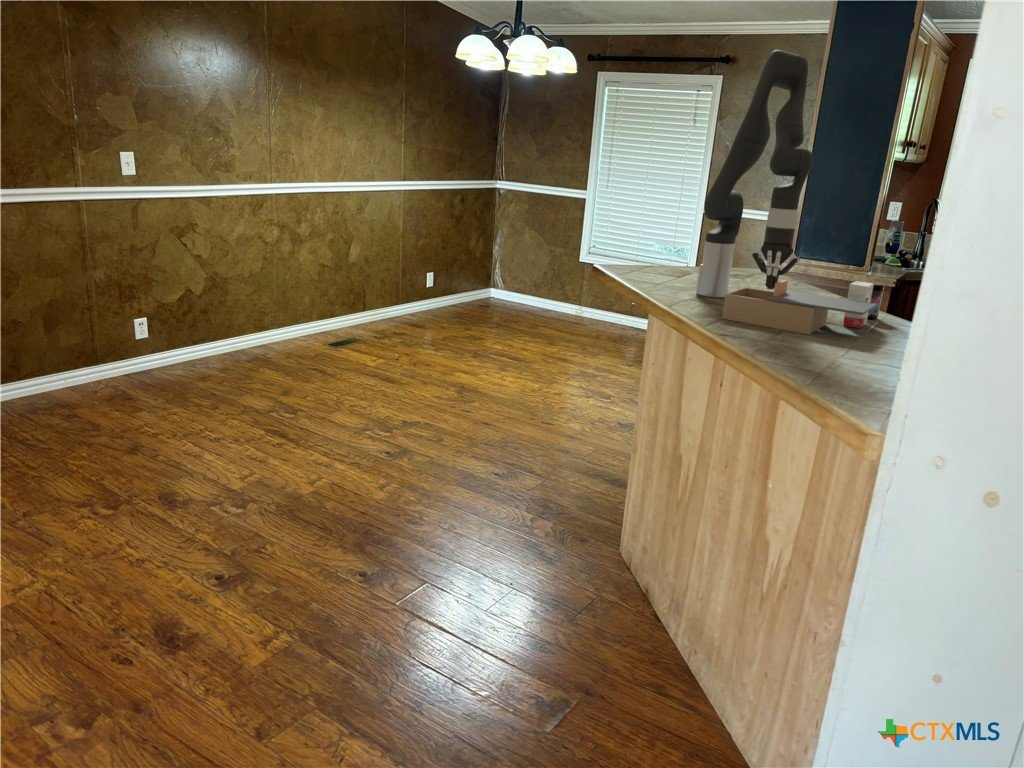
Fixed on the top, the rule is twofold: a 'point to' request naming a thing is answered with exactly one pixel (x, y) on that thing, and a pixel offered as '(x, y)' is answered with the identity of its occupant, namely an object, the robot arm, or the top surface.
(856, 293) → the ink box
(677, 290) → the top surface
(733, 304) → the box
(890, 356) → the top surface
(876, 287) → the supplement container
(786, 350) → the top surface
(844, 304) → the mailer lid
